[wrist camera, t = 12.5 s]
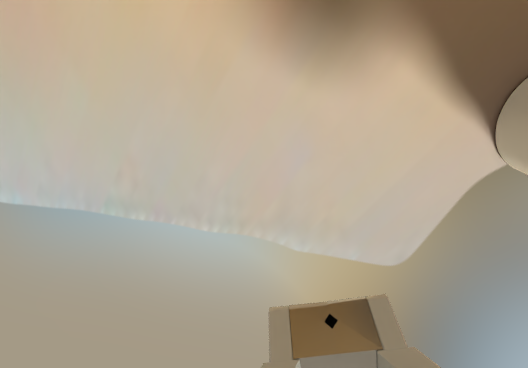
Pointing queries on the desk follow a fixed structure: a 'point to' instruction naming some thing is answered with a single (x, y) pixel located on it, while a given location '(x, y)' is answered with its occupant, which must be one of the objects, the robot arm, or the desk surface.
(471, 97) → the desk surface
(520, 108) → the robot arm
